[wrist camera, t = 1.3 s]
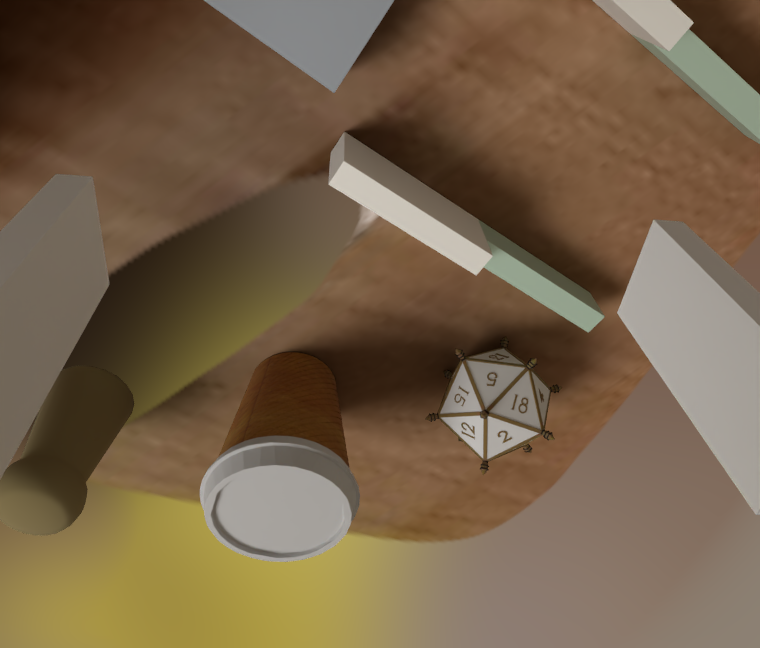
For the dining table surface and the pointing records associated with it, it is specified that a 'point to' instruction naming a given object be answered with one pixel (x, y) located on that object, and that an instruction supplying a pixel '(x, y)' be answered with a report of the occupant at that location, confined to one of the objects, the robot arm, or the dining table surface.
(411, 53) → the dining table surface
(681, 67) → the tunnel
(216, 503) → the disposable coffee cup
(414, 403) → the dining table surface
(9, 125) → the dining table surface
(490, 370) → the game die
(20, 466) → the pepper mill
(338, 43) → the slate block
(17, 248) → the robot arm
